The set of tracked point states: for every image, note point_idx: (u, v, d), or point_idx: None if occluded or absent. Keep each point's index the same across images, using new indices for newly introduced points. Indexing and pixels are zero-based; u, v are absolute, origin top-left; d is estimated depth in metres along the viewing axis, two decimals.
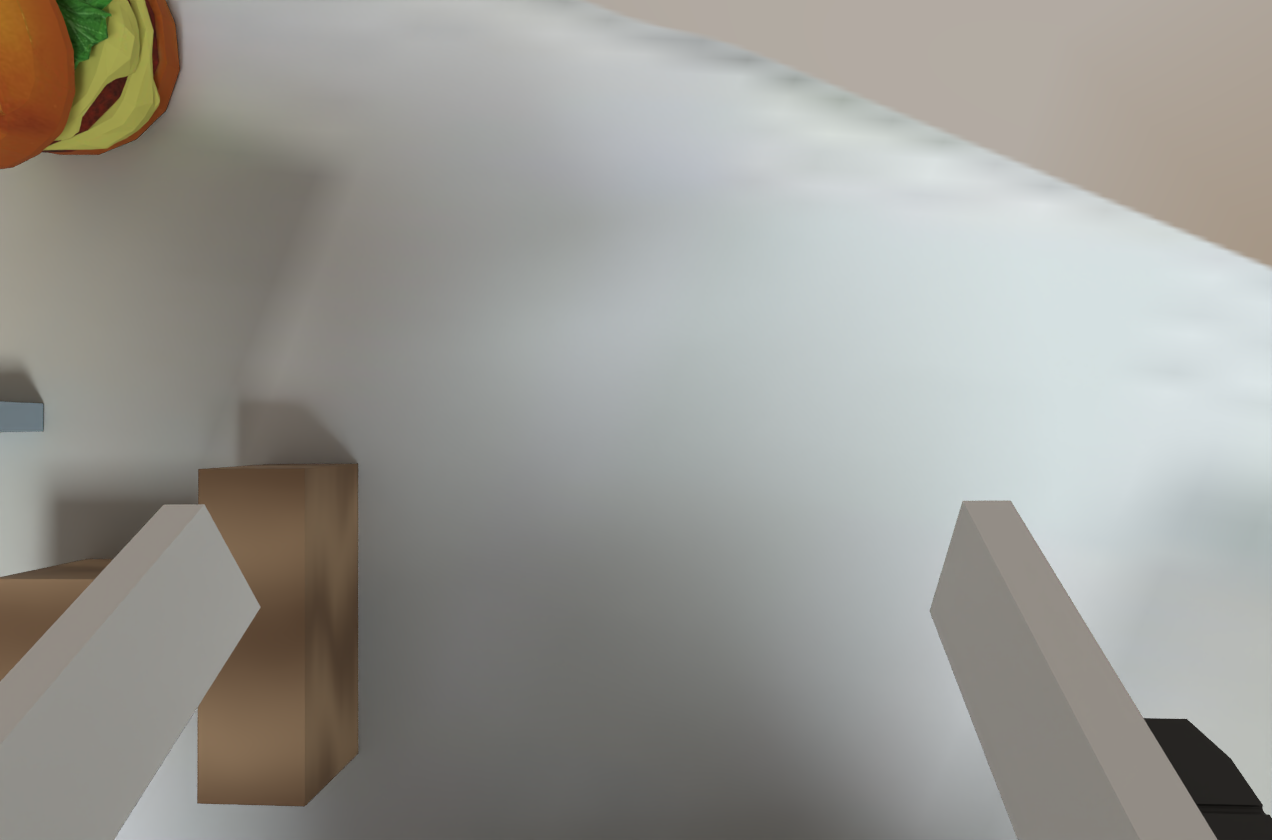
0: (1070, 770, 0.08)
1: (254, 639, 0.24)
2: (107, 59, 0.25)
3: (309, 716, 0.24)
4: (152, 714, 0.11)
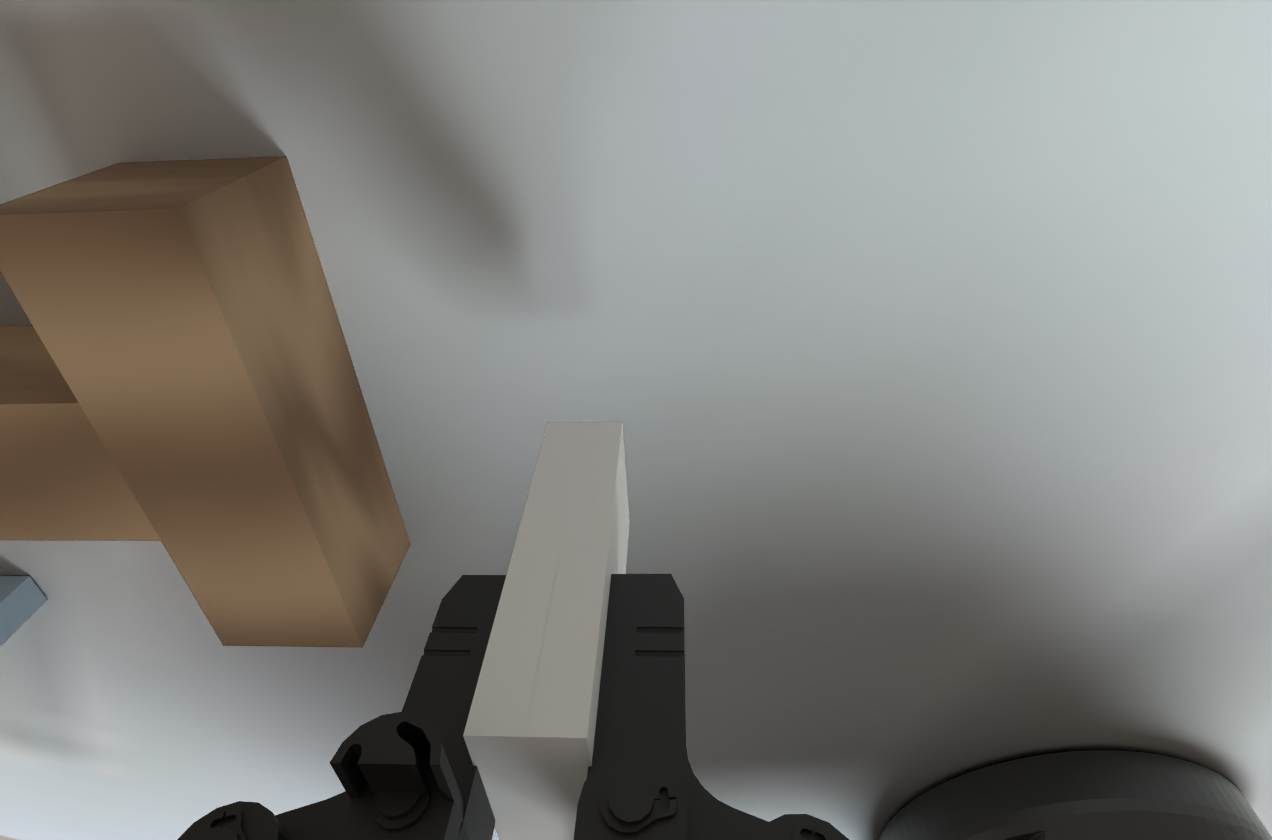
0: None
1: (213, 480, 0.15)
2: None
3: (335, 559, 0.17)
4: None
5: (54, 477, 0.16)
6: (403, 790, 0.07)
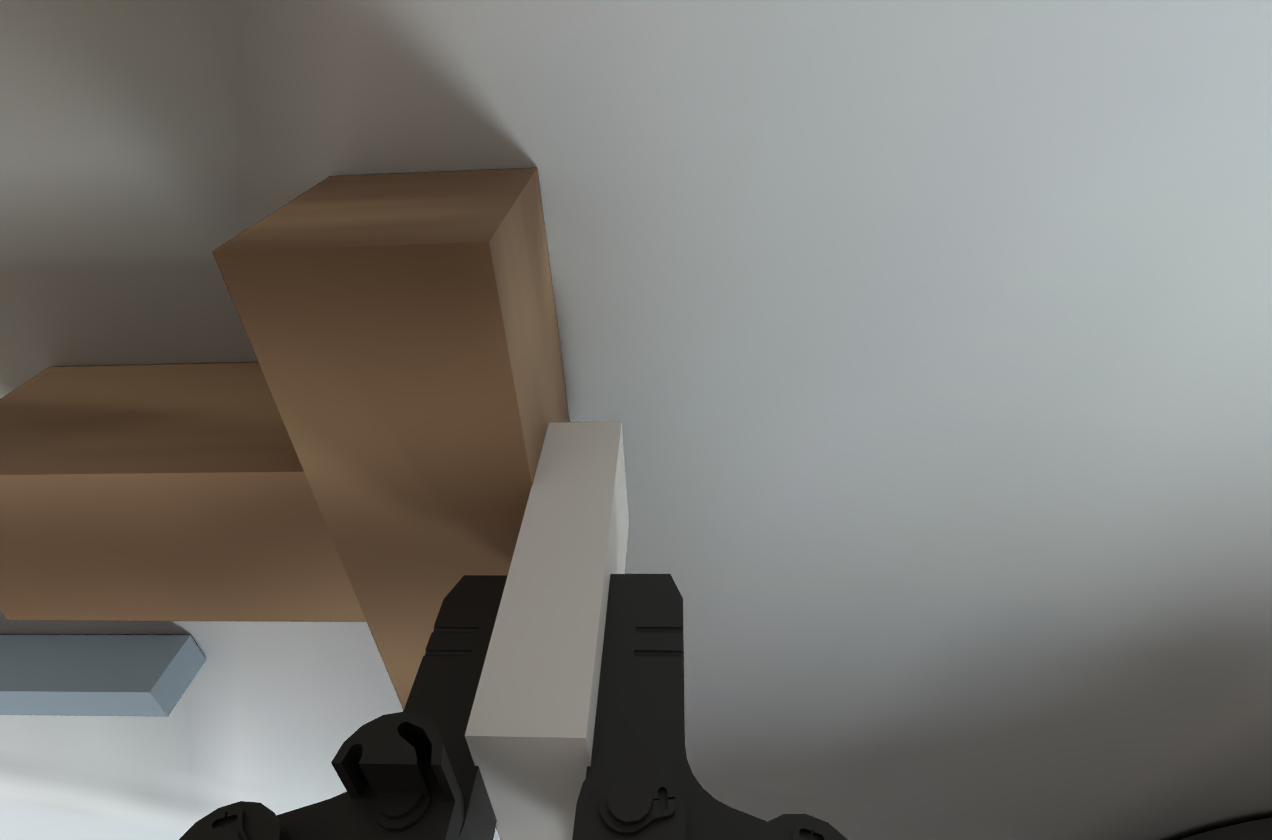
0: None
1: (448, 557, 0.13)
2: None
3: None
4: None
5: (254, 553, 0.13)
6: (404, 790, 0.07)
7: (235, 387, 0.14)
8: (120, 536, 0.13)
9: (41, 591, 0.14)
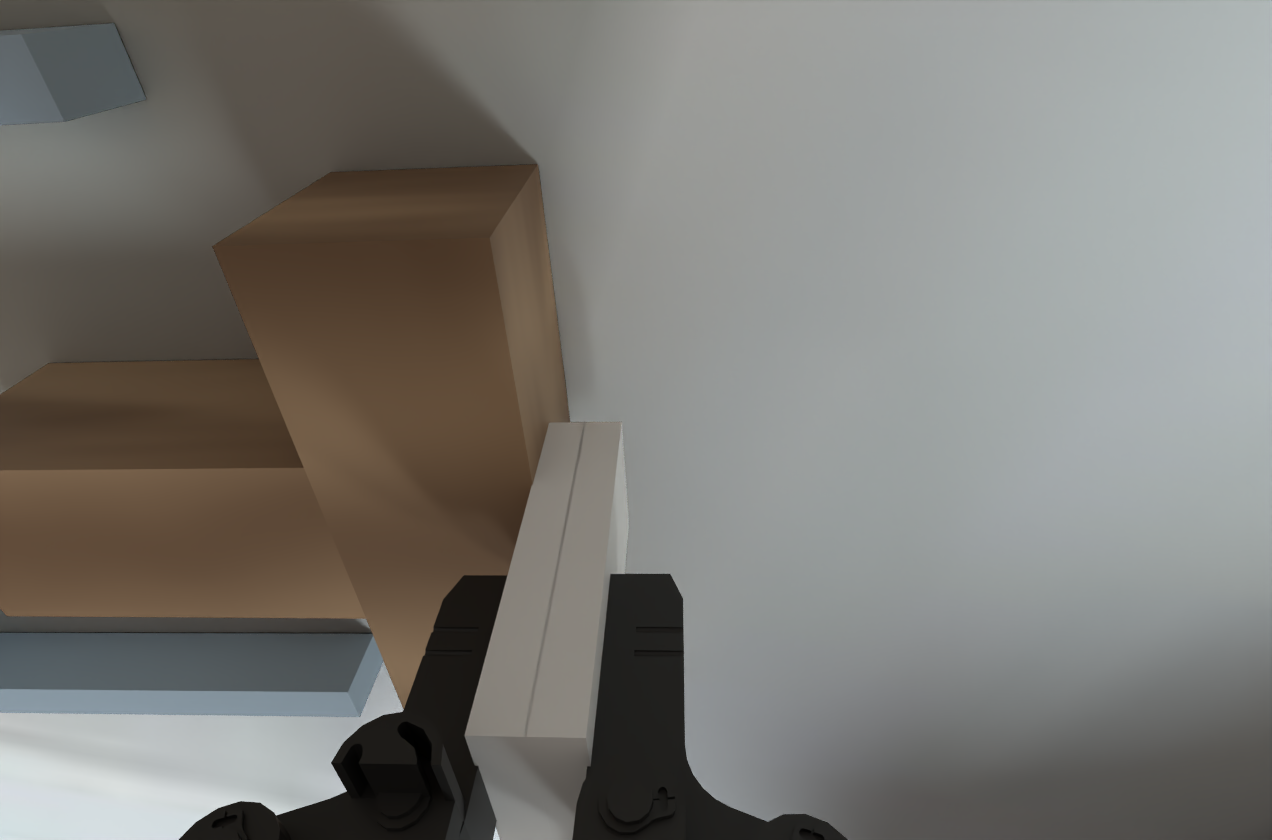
0: None
1: (448, 554, 0.13)
2: None
3: None
4: None
5: (253, 549, 0.13)
6: (404, 791, 0.07)
7: (235, 383, 0.14)
8: (120, 532, 0.13)
9: (40, 587, 0.14)
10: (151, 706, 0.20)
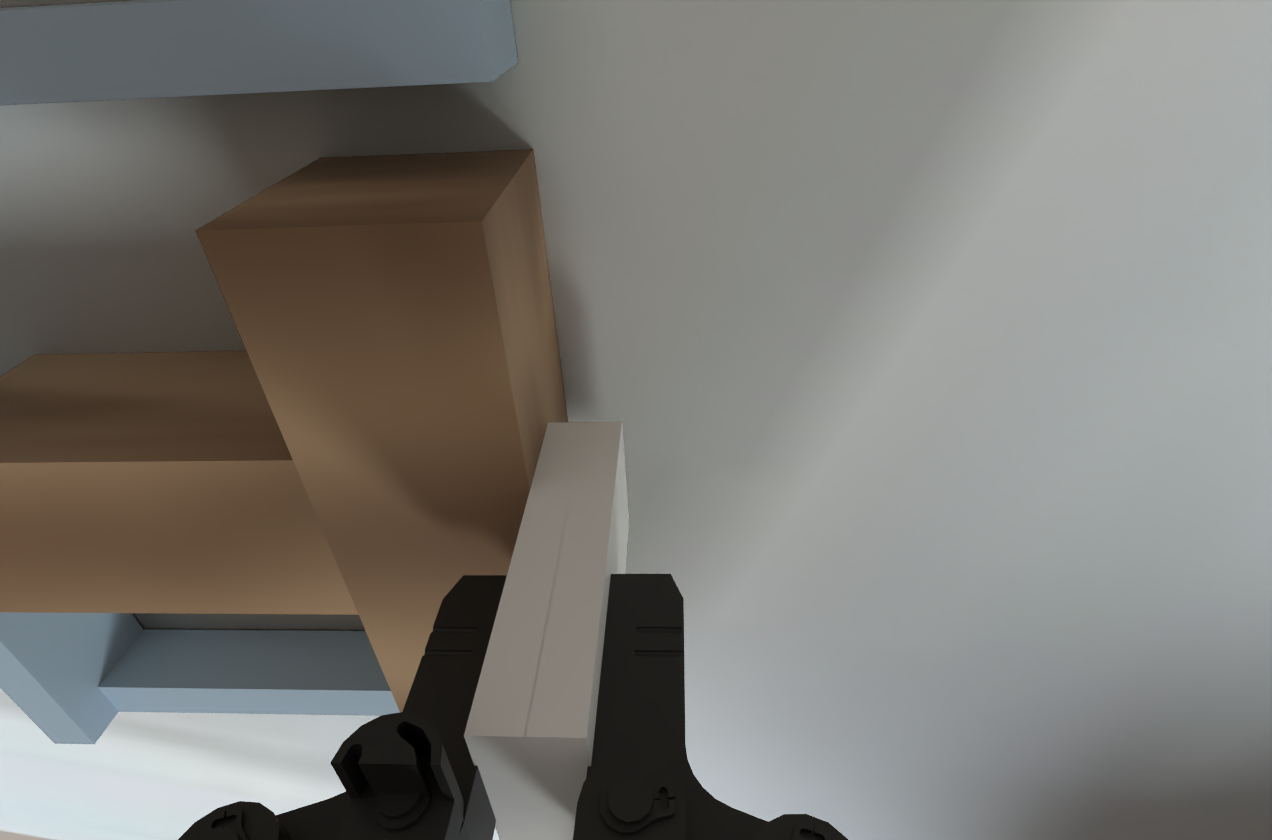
0: None
1: (441, 548, 0.13)
2: None
3: None
4: None
5: (242, 544, 0.13)
6: (403, 790, 0.07)
7: (224, 375, 0.14)
8: (106, 527, 0.13)
9: (26, 582, 0.14)
10: (370, 707, 0.19)
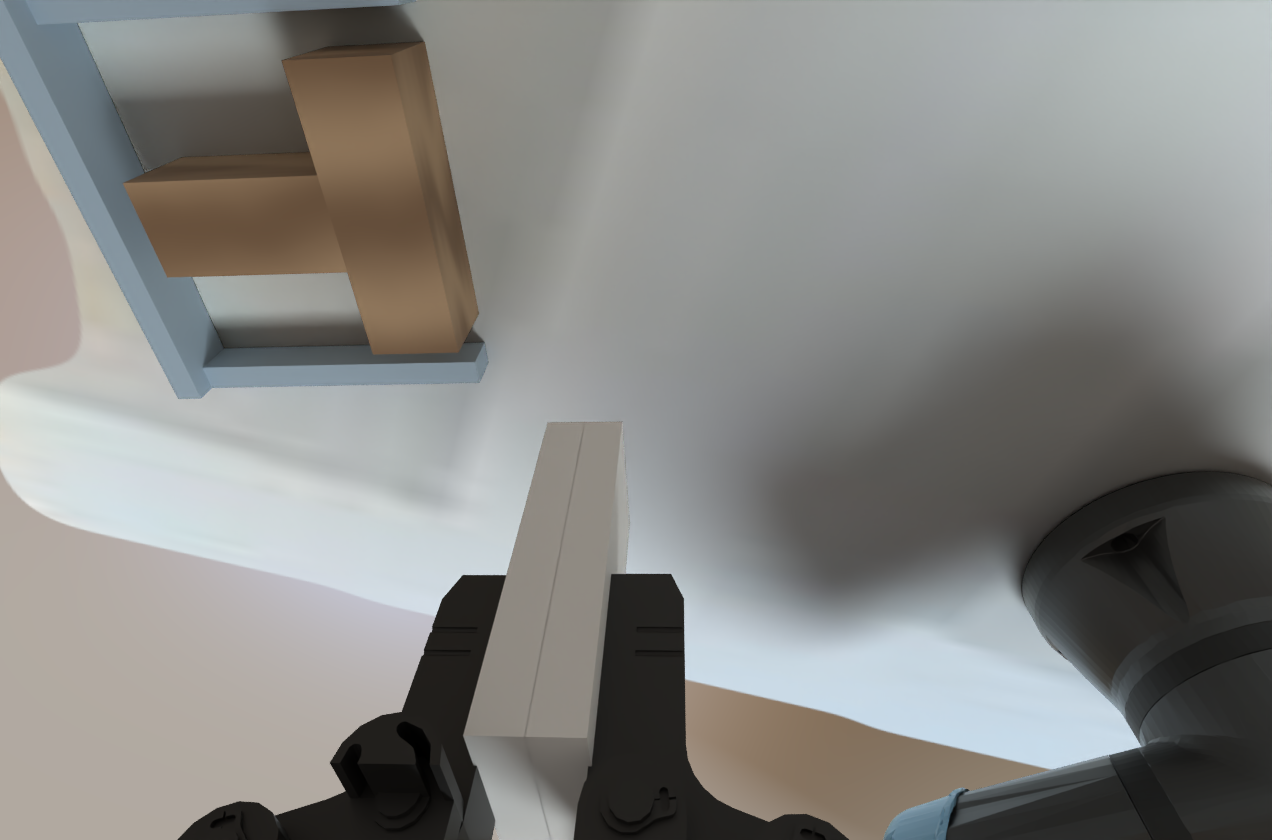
0: None
1: (384, 227, 0.27)
2: None
3: (446, 287, 0.29)
4: None
5: (293, 226, 0.28)
6: (403, 790, 0.07)
7: (281, 159, 0.29)
8: (229, 217, 0.28)
9: (187, 256, 0.29)
10: (356, 378, 0.34)
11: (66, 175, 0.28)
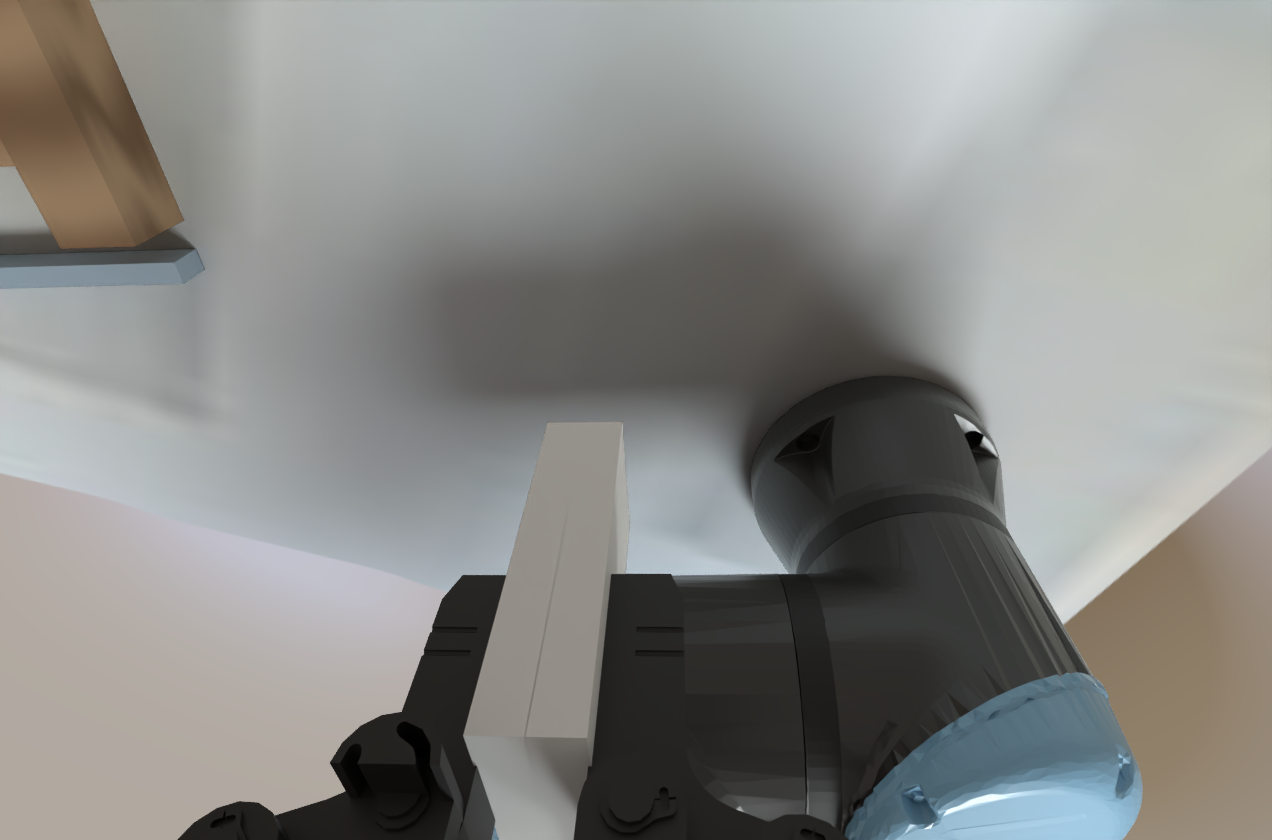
0: None
1: (35, 121, 0.30)
2: None
3: (111, 182, 0.32)
4: None
5: None
6: (403, 791, 0.07)
7: None
8: None
9: None
10: (71, 279, 0.37)
11: None
